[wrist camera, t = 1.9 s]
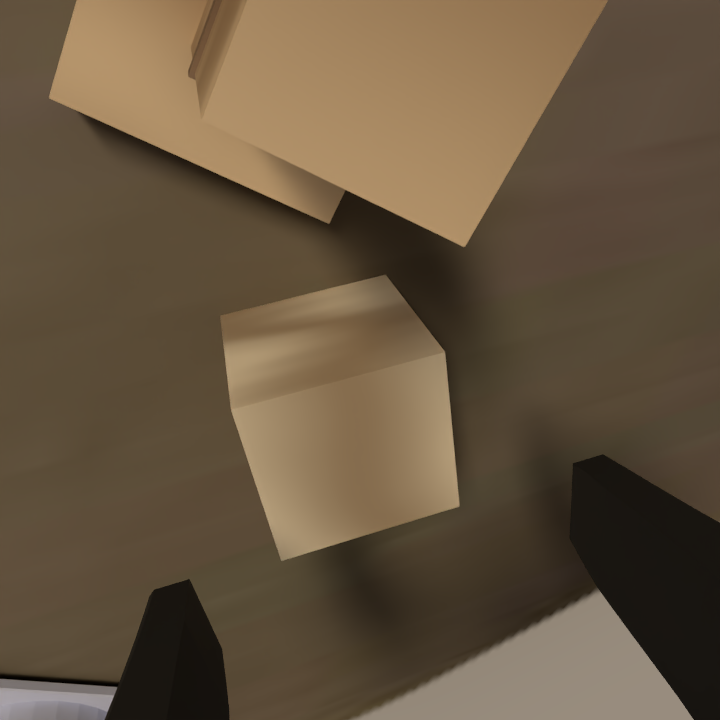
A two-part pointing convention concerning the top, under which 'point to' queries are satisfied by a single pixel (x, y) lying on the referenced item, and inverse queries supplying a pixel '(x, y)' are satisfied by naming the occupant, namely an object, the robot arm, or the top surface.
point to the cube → (341, 413)
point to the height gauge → (331, 92)
